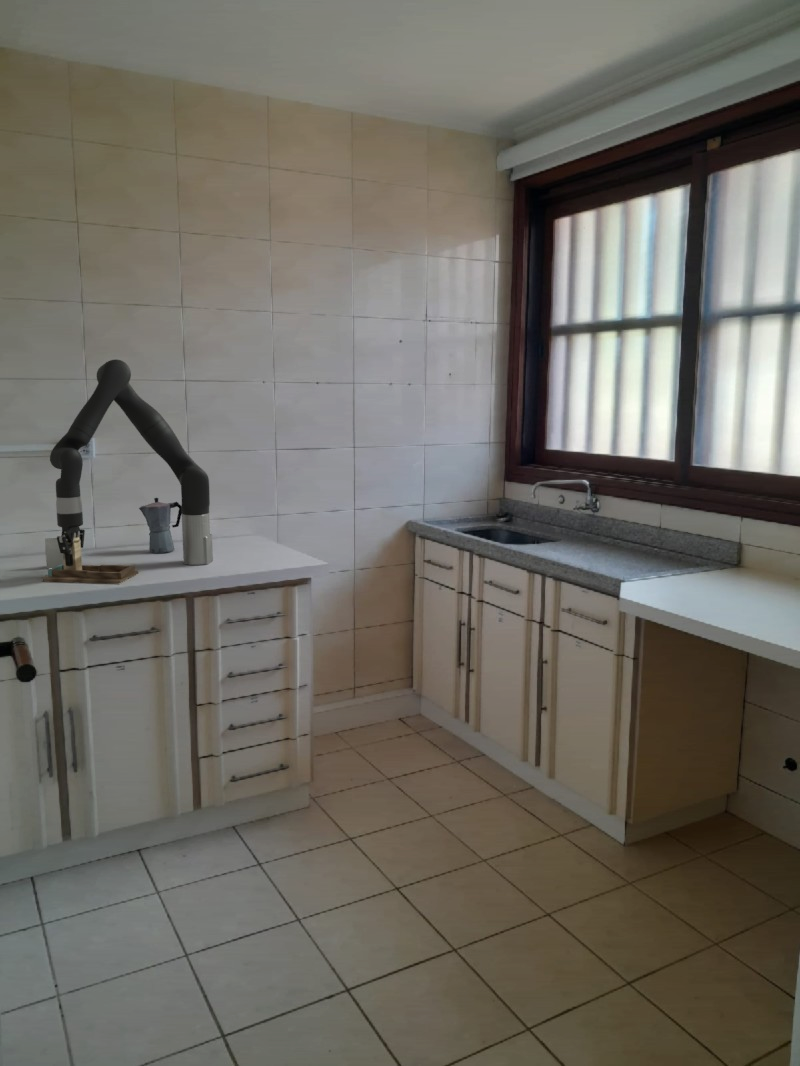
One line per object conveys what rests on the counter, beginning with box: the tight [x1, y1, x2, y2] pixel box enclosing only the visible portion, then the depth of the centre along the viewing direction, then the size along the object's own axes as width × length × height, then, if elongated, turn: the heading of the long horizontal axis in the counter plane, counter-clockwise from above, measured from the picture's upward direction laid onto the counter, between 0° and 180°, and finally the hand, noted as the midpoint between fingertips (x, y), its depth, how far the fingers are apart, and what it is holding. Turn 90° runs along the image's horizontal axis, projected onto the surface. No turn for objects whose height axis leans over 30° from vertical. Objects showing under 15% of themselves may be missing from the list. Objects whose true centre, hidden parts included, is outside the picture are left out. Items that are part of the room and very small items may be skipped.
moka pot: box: [138, 497, 182, 554], centre depth 294 cm, size 10×15×20 cm, turn 115°
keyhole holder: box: [42, 564, 140, 584], centre depth 255 cm, size 25×14×3 cm, turn 85°
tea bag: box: [44, 537, 64, 570], centre depth 269 cm, size 4×7×10 cm, turn 120°
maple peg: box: [63, 537, 83, 570], centre depth 255 cm, size 5×5×11 cm
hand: (73, 563), depth 255 cm, fingers closed on maple peg, 4 cm apart
